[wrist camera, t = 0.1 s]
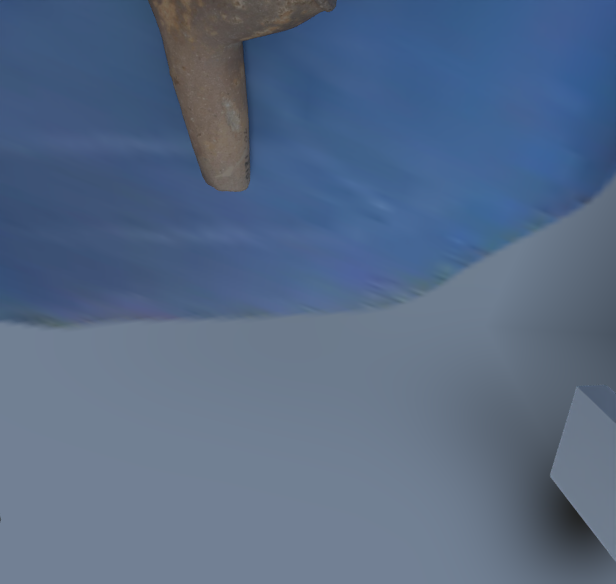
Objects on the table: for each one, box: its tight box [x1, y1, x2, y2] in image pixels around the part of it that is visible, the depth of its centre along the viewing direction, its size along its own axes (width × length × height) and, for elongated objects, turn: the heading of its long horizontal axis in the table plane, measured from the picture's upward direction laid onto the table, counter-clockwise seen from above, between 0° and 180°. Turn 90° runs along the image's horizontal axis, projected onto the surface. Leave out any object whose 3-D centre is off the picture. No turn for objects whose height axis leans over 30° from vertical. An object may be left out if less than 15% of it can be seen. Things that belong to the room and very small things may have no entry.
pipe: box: [148, 0, 337, 192], centre depth 32 cm, size 6×17×10 cm
